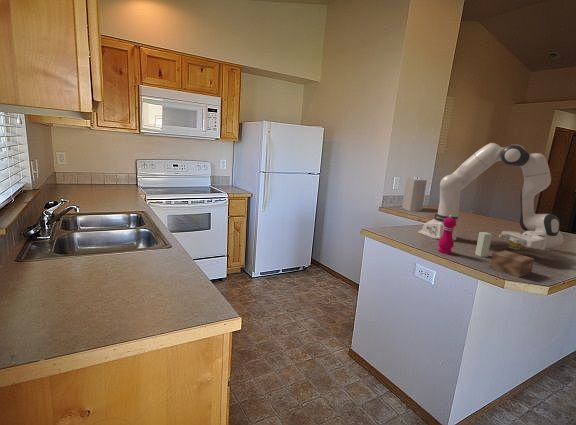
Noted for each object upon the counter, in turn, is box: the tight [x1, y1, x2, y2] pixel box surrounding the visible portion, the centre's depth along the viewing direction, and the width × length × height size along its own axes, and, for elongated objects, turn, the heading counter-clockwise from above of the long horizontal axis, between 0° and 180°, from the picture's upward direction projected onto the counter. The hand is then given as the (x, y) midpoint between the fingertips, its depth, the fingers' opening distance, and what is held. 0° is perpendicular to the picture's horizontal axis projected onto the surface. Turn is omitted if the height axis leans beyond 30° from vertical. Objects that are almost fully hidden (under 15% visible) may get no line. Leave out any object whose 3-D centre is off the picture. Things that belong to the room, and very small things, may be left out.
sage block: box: [474, 231, 493, 258], centre depth 164 cm, size 4×4×12 cm
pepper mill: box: [437, 215, 457, 255], centre depth 164 cm, size 7×7×20 cm
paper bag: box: [402, 177, 428, 212], centre depth 291 cm, size 19×15×28 cm
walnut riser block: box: [489, 250, 535, 278], centre depth 144 cm, size 12×12×7 cm
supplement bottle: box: [508, 230, 523, 250], centre depth 183 cm, size 5×5×10 cm
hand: (507, 238), depth 165 cm, fingers open, 8 cm apart
